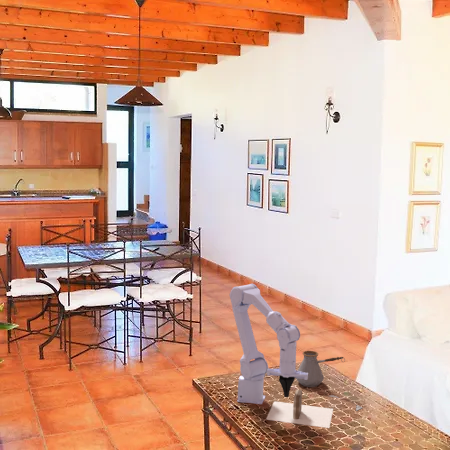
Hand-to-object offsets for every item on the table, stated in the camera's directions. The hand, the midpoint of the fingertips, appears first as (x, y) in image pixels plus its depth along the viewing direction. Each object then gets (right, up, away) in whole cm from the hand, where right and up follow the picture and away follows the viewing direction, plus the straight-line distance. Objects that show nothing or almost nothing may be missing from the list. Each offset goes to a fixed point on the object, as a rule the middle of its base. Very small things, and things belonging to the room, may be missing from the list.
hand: (286, 396), depth 213 cm
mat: (+5, -7, +1) cm, 9 cm away
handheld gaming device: (+21, -7, +11) cm, 25 cm away
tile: (+4, -7, 0) cm, 8 cm away
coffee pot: (+16, -4, +27) cm, 32 cm away
